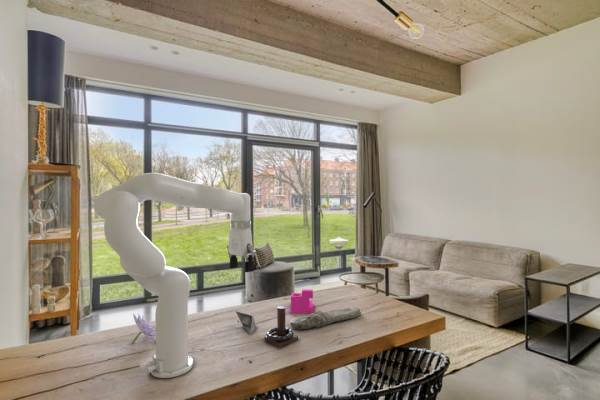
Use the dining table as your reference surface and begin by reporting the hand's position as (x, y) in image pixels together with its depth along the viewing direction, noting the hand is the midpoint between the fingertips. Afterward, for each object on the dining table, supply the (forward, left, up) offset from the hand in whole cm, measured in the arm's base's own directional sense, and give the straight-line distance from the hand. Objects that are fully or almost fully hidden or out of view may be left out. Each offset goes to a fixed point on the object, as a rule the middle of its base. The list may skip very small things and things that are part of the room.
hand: (241, 269), depth 123 cm
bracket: (+39, +5, -26) cm, 47 cm away
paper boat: (+6, +6, -26) cm, 28 cm away
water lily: (-26, +24, -26) cm, 44 cm away
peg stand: (+9, -13, -26) cm, 31 cm away
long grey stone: (+35, -14, -26) cm, 46 cm away
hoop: (+9, -12, -24) cm, 28 cm away
